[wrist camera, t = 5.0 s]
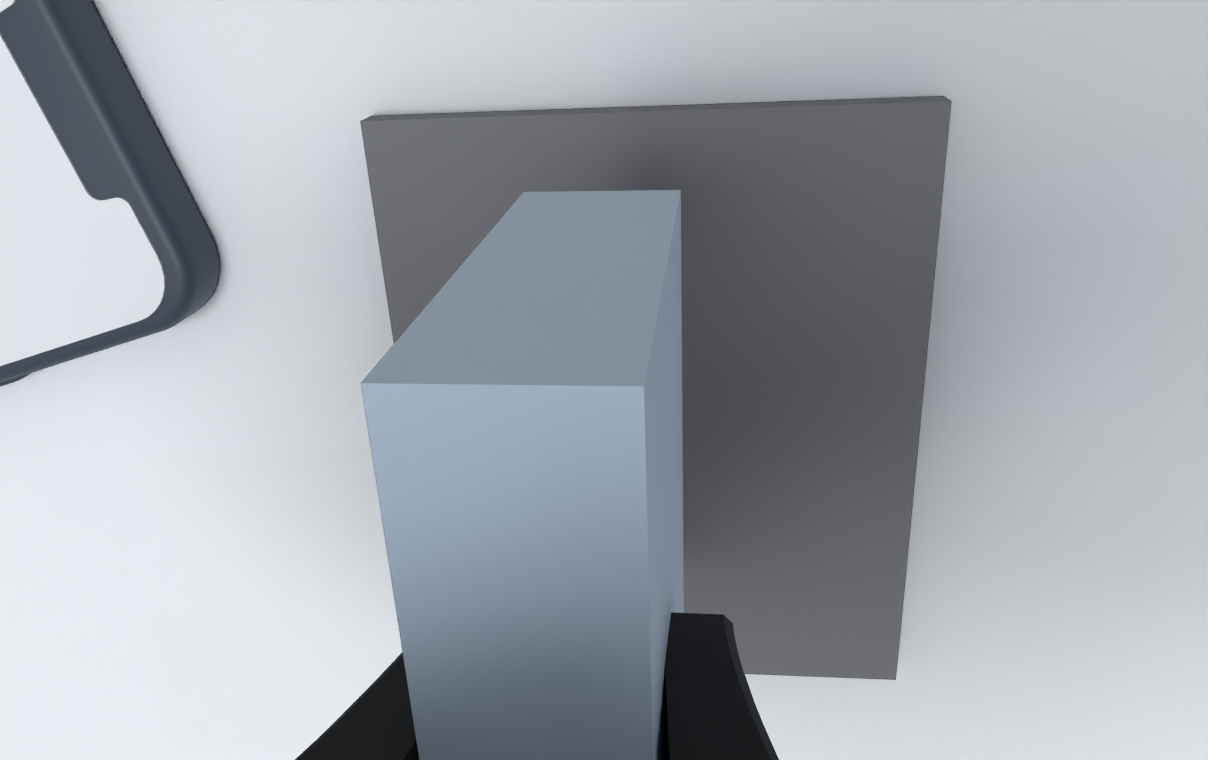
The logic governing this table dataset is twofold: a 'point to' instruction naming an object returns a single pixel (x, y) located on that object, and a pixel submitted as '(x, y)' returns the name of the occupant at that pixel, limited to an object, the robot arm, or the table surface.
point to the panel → (540, 483)
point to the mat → (739, 329)
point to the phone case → (85, 198)
